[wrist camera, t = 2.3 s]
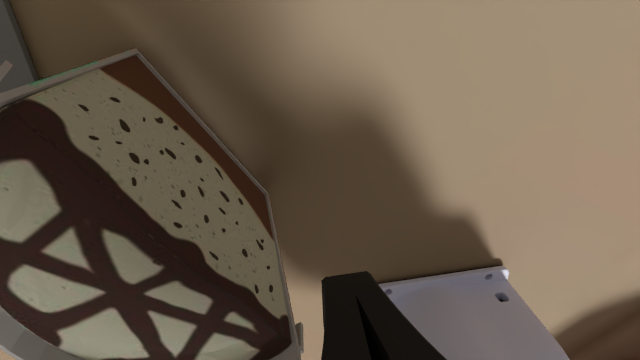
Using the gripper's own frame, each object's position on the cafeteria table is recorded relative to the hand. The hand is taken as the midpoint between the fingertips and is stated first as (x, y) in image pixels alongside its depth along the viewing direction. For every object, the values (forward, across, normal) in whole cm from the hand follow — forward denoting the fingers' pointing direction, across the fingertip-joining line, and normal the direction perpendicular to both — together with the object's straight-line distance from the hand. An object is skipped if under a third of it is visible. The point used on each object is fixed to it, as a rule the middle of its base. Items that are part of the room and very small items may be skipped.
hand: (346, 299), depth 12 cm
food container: (+11, +7, 0) cm, 13 cm away
